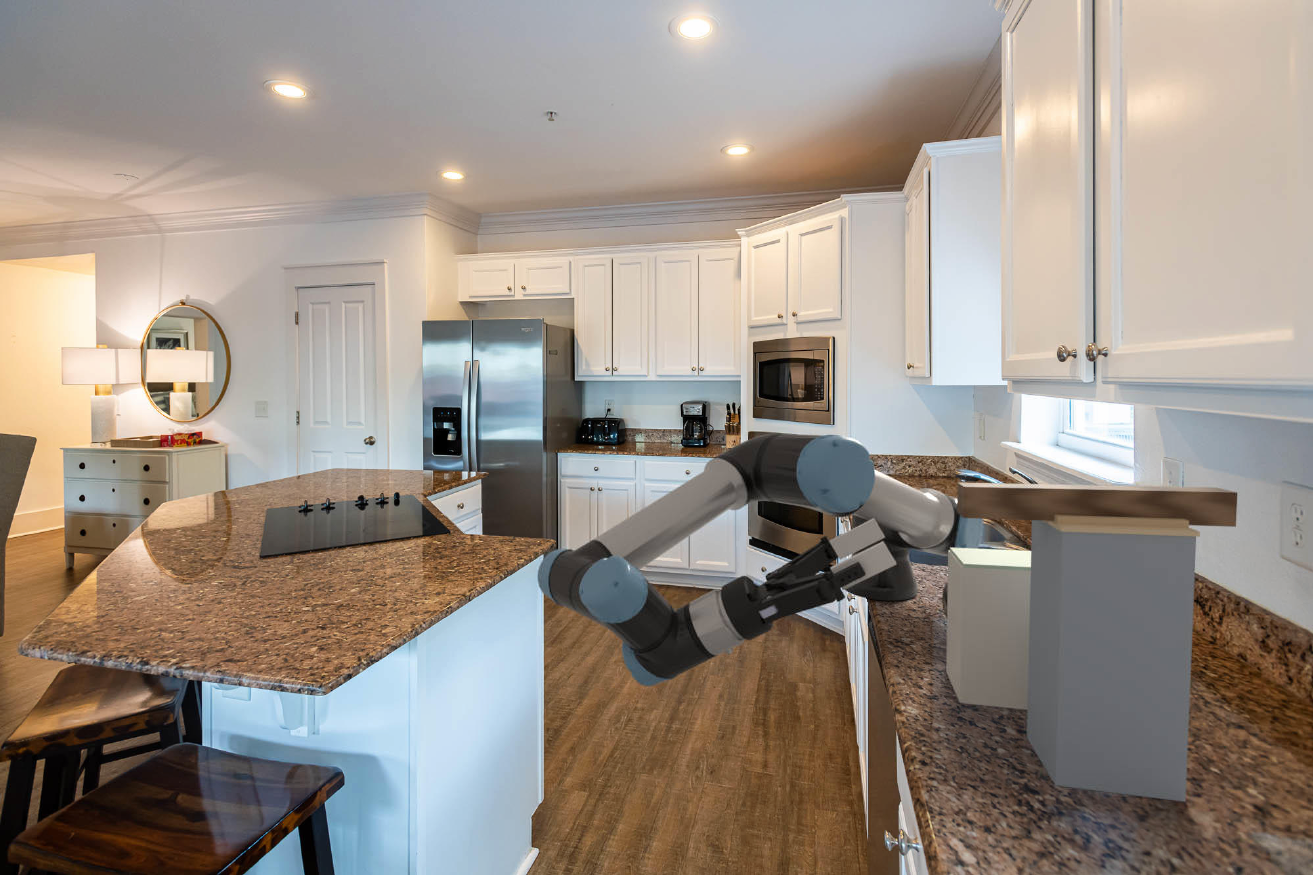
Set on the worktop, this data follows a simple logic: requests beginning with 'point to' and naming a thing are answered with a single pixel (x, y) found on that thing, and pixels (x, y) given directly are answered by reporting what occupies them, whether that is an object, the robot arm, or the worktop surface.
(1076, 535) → the pillar
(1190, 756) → the worktop surface
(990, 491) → the walnut block
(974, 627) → the felt block
